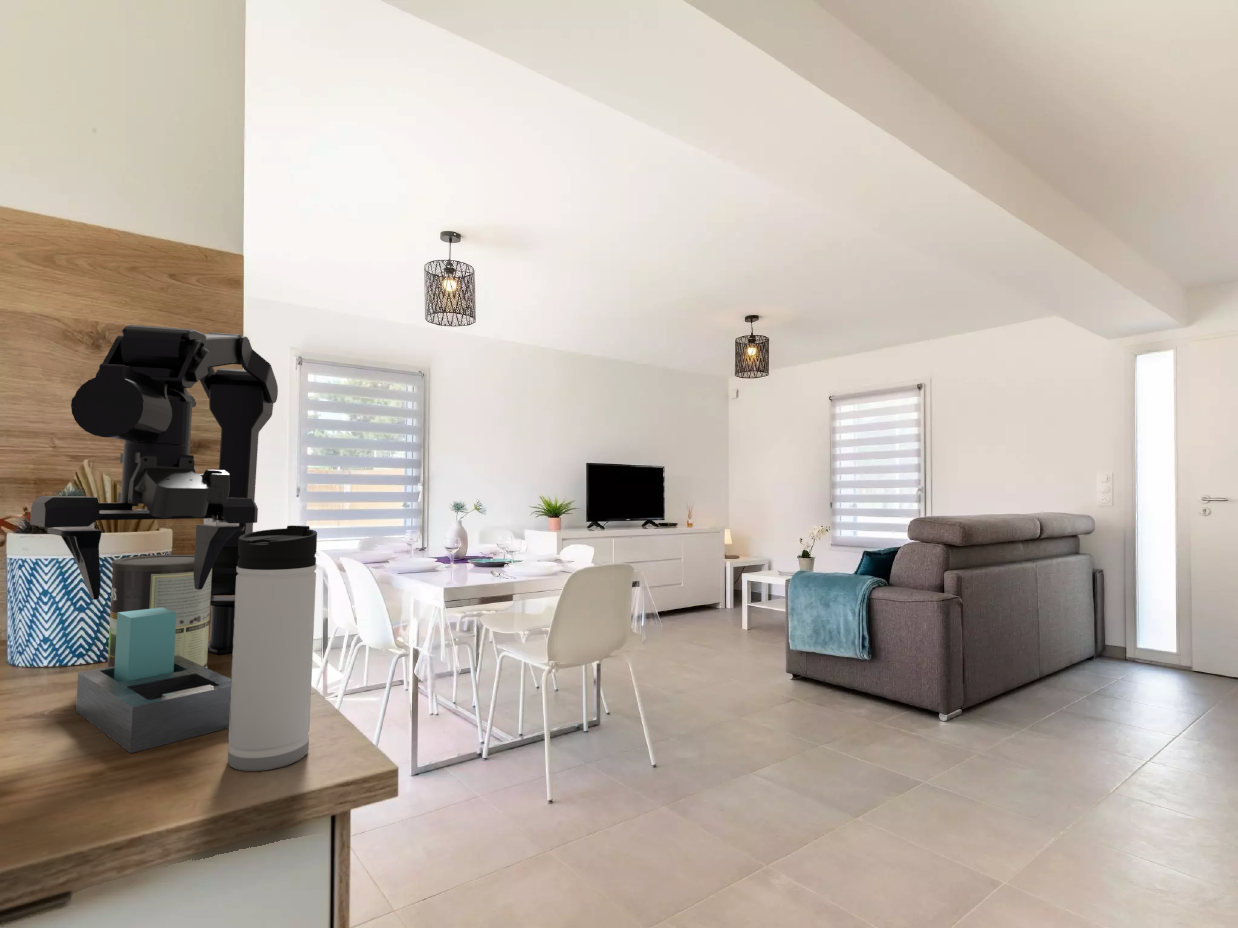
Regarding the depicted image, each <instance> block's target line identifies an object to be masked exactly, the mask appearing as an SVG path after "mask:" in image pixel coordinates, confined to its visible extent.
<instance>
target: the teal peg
mask: <svg viewBox="0 0 1238 928" xmlns="http://www.w3.org/2000/svg"><path fill="white" fill-rule="evenodd" d="M175 632H176V612H174V611H171V610H168V609H165V608H153V609H144V610H135V611H126V612H118V613H117V631H116V650H115V669H114V680H116V681H117V682H124V681H130V680H135V679H140V678H146V677H151V676H157V675H162V674H168V673H173V672H174V652H175Z"/></svg>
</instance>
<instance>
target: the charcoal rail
mask: <svg viewBox="0 0 1238 928" xmlns="http://www.w3.org/2000/svg"><path fill="white" fill-rule="evenodd" d="M114 669H115V666H110V667H107V666H106V667H99V668H93V669H88V670H87V669H86V670H82V671H78V672H77V686H76V704H75V705H76V706H75V712H76V713H77V714H78V715H80V716H81V717H82V718H84V719H85V720H87V721H88V722H89V723H90V724H92V725H93V726H94V727H96V728H97V729H98V730H100V732H102V733H103V734H104V735H106V736H107V737H109V739H111V740H112V741H113V742H115V743H116V744H118V745H119V746H120V747H122V748H123V750H125V751H126V752H128V753H129V754H132V753H137V752H141V751H145V750H149V749H153V748H156V747H160V746H164V745H168V744H173V743H177V742H179V741H184V740H188V739H191V738H195V737H199V736H203V735H208V734H211V733H214V732H220V731H222V730H223V731H224V730H226V729H229V719H230V697H231V678H230V677H228V676H226V675H224V674H220V673H219V672H217V671H214V670H212V669H210V668H205V667H203V666H201V665H199V664H197V663H194V662H192V661H190V660H188V659H186V658H183V657H181V656H179V655H177V656H174V672H173V673H168V674H162V675H157V676H151V677H146V678H140V679H135V680H130V681H124V682H117V681H116V680H114Z"/></svg>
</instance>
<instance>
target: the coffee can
mask: <svg viewBox="0 0 1238 928" xmlns="http://www.w3.org/2000/svg"><path fill="white" fill-rule="evenodd" d="M194 558H195V554H156V555H155V554H153V555H140V556H129V557H121V558H117V559H115V560H112V561H111V569H112V574H111V576H112V577H111V592H110V593H111V594H110V609H109V611H110V613H109V615H110V616H109V630H108V631H109V632H108V647H107V648H108V650H107V666H106V667H110V666H115V650H116V631H117V613H118V612H126V611H135V610H144V609H153V608H165V609H168V610H171V611H174V612H176V632H175V652H174V656H177V655H179V656H181V657H183V658H186V659H188V660H190V661H192V662H194V663H197V664H199V665H201V666H203V667H205V668H208V651H209V650H208V641H209V636H210V618H211V606H210V598H211V579H212V569H211V571H210V573H209V575H208V578H207V580H206V582H205V584H204V587H203V589H201V590H197V589H195V585H194ZM208 669H209V668H208Z"/></svg>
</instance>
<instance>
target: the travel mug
mask: <svg viewBox="0 0 1238 928" xmlns="http://www.w3.org/2000/svg"><path fill="white" fill-rule="evenodd" d="M317 542H318V532H317V531H316V530H314V529H310V526H309V525H292V524H291V525H287V526H286V528H272V529H265V530H264V529H263V530H256V531H253V532H251V533H247V534H244V535H242V536H240V537H239V543H238V555H239V559H238V564H237V569H236V571H237V573H238V575H237V576H236V591H235V595H234V596H235V612H234V633H233V651H232V657H231V659H232V660H231V678H230V679H231V697H230V719H229V728H228V745H227V764H229V766H230V767H231V768H233V769H236V770H237V771H238V770H239V771H244V772H263V771H270V770H277V769H280V768H283V767H287V766H289V765H291V764H295V763H296V762H299V761H300V760H301V759H303V757H305V756H306V755H307V754H308V752H309V749H310V734H309V733H310V725H311V702H312V701H311V700H312V698H311V697H312V680H313V679H312V678H313V677H312V676H313V657H314V656H313V655H314V653H313V652H314V636H315V635H314V634H315V633H314V632H315V630H314V628H315V607H316V606H315V605H316V585H317V583H316V581H317V572H315V571H316V570H317V557H316V554H317V547H318V546H317V545H318V543H317Z"/></svg>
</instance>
